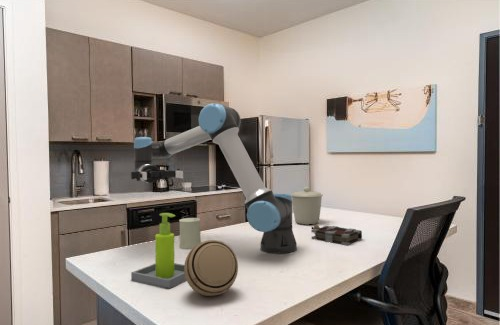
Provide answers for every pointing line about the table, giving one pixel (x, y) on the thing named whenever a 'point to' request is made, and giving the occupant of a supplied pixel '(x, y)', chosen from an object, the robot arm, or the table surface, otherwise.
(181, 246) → the can
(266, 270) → the table surface
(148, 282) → the tray
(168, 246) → the soap dispenser
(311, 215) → the canister
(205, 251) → the tan ball
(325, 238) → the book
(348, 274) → the table surface
